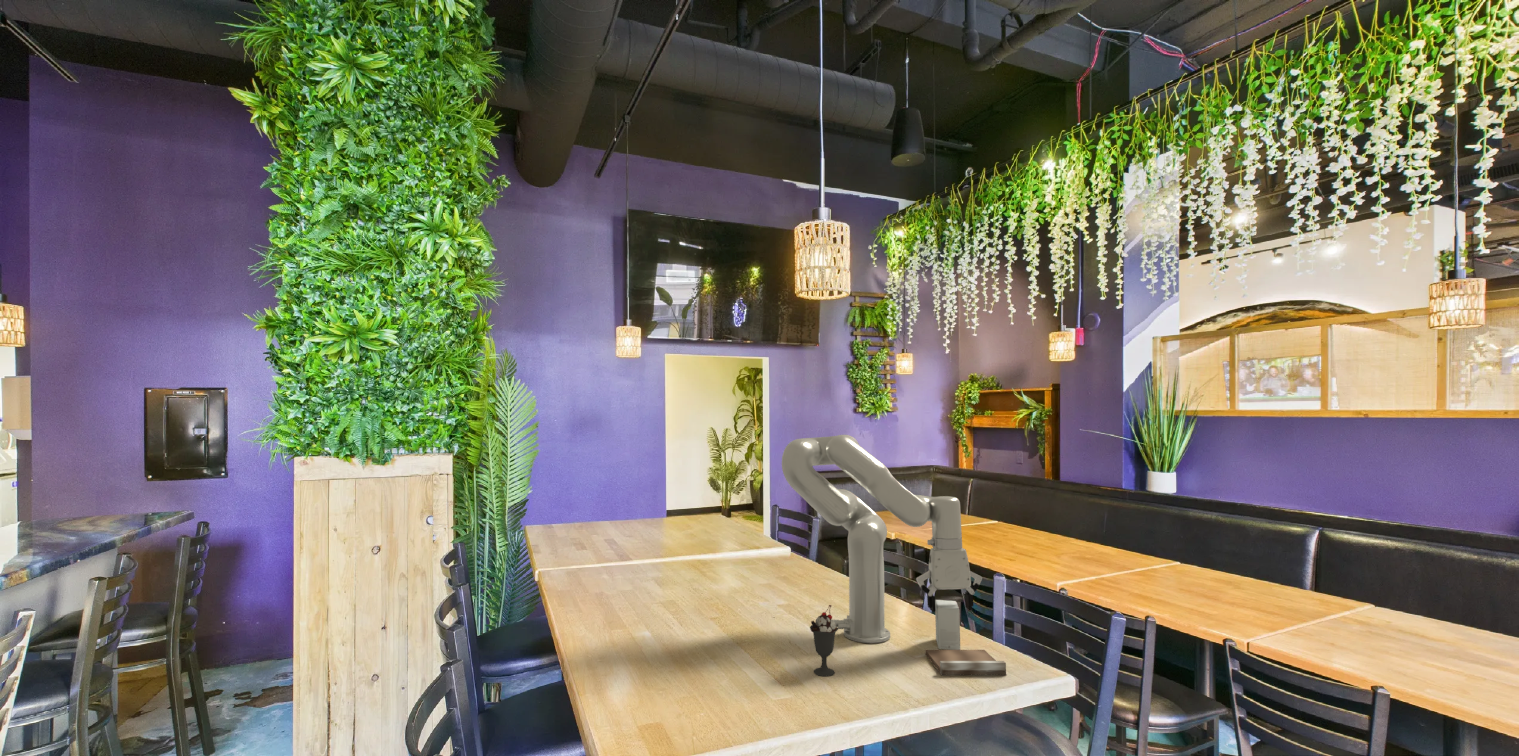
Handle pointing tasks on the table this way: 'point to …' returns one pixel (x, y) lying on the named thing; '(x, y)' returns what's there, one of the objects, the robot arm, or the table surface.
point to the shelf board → (965, 662)
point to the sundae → (824, 641)
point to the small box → (947, 624)
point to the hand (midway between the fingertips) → (950, 609)
